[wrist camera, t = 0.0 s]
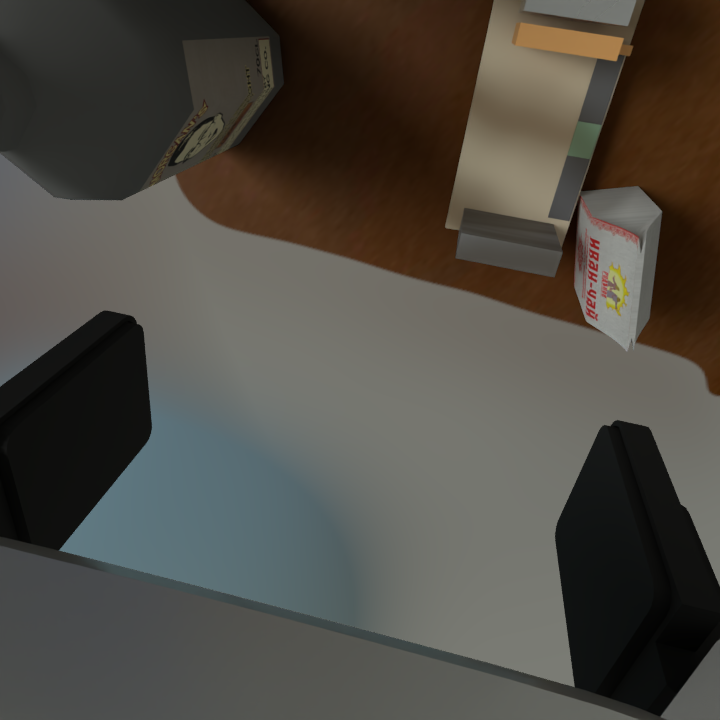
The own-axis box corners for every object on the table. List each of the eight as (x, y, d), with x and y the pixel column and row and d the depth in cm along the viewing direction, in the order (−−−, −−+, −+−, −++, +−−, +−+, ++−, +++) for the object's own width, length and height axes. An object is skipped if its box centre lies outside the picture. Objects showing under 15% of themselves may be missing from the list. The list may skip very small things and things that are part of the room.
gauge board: (505, -53, 32) (509, -71, 26) (649, -33, 31) (687, -46, 25) (446, 221, 40) (439, 255, 34) (558, 242, 40) (571, 280, 34)
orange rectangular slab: (516, 22, 32) (520, 22, 28) (633, 40, 31) (655, 42, 27) (511, 42, 32) (515, 45, 28) (626, 60, 32) (647, 66, 28)
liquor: (127, 65, 39) (-533, 138, 14) (196, -57, 35) (-592, -278, 9) (228, 161, 41) (-183, 379, 16) (306, 58, 37) (-96, 131, 11)
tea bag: (638, 186, 37) (683, 233, 28) (628, 282, 40) (667, 350, 32) (578, 191, 38) (605, 239, 29) (573, 285, 41) (596, 352, 32)
